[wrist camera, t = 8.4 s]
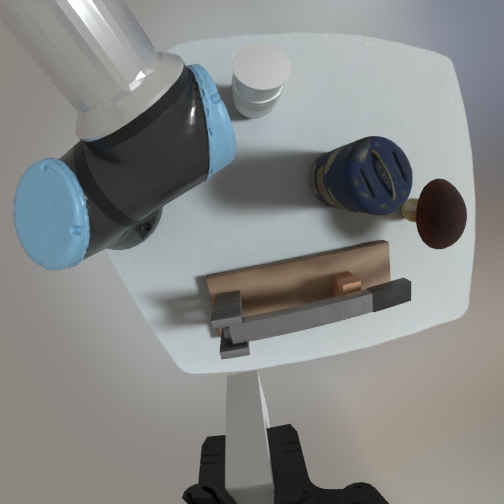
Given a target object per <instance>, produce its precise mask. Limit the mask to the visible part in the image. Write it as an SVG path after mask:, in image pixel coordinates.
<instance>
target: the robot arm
mask: <svg viewBox="0 0 504 504" xmlns="http://www.w3.org/2000/svg"><path fill="white" fill-rule="evenodd" d="M0 22H1V24H2V25H3V26H4V28H5V29H6V30H7V31H8V32H9V33H10V35H11V36H12V37H13V38H14V39H15V41H16V42H17V43H18V44H19V45H20V47H21V48H22V49H23V50H24V51H25V53H27V55H28V56H29V57H30V58H31V59H32V61H33V62H34V63H35V64H36V65H37V66H38V68H39V69H40V70H41V71H42V72H43V73H44V74H45V76H46V77H47V78H48V79H49V80H50V81H51V82H52V83H53V85H55V87H56V88H57V89H58V90H59V91H60V92H61V93H62V95H63V96H64V97H65V98H66V99H67V100H68V101H69V102H70V103H71V104H72V106H73V107H74V108H75V109H76V110H77V112H78V118H77V127H76V134H77V136H78V137H79V139H81V141H79V142H78V143H77V144H76V145H75V146H74V147H72V148H71V149H70V150H69V151H68V152H67V153H66V154H65V155H64V156H63V157H61V158H60V159H55V158H46V159H44V160H41V161H38V162H36V163H34V164H32V166H30V167H29V168H28V169H27V170H26V171H25V173H24V174H23V175H22V177H21V179H20V181H19V183H18V186H17V189H16V192H15V197H14V214H13V216H14V225H15V229H16V233H17V236H18V239H19V241H20V243H21V245H22V247H23V249H24V251H25V252H26V254H27V255H28V256H29V257H30V258H31V259H32V260H33V261H34V262H35V263H36V264H38V265H41V266H42V267H44V268H45V269H48V270H62V269H65V268H71V267H74V266H76V265H78V264H79V263H80V262H81V261H82V260H84V259H85V258H87V257H89V256H91V255H93V254H95V253H97V252H99V251H102V250H104V249H106V248H109V249H113V250H124V249H129V248H132V247H134V246H136V245H138V244H140V243H142V242H143V241H145V240H146V239H147V238H148V237H149V236H150V235H151V234H152V233H153V232H154V230H155V229H156V227H157V225H158V223H159V220H160V217H161V214H162V207H163V206H164V205H165V204H167V203H169V202H170V201H172V200H174V199H175V198H177V197H178V196H180V195H182V194H183V193H185V192H187V191H188V190H190V189H192V188H194V187H195V186H197V185H199V184H200V183H202V182H205V181H207V180H209V179H210V178H211V176H212V175H214V174H215V173H217V172H218V171H220V170H221V169H223V168H224V167H226V166H227V165H229V164H230V163H231V162H232V160H233V159H234V157H235V154H236V138H235V134H234V130H233V126H232V123H231V120H230V117H229V114H228V112H227V109H226V107H225V104H224V102H223V101H222V100H221V99H220V95H219V92H218V90H217V87H216V85H215V83H214V81H213V80H212V78H211V77H210V75H209V74H208V72H207V71H206V70H205V69H204V68H203V67H202V66H201V65H198V64H195V65H188V66H185V64H184V62H183V60H182V59H181V57H180V56H178V55H176V54H170V53H164V52H158V51H156V49H155V47H154V46H153V44H152V42H151V41H150V39H149V38H148V36H147V34H146V33H145V31H144V30H143V28H142V26H141V25H140V23H139V22H138V20H137V18H136V17H135V15H134V14H133V12H132V10H131V9H130V7H129V6H128V4H127V3H126V1H125V0H0ZM226 400H227V401H226V435H221V436H211V437H207V438H206V440H205V442H204V443H203V445H202V450H201V460H200V464H201V465H200V472H199V483H198V484H195V485H193V486H191V487H189V488H188V489H187V490H186V491H185V492H184V494H183V497H182V498H183V499H184V500H185V501H186V502H187V504H389V503H388V502H387V501H386V500H385V499H384V498H383V496H381V494H380V493H379V492H378V491H377V490H376V489H375V488H374V487H373V486H372V485H370V484H368V483H364V482H360V483H353V484H351V485H348V486H347V487H345V488H344V489H322V488H319V487H317V486H315V485H314V484H312V482H311V481H310V479H309V477H308V473H307V469H306V465H305V461H304V457H303V453H302V449H301V445H300V442H299V437H298V433H297V431H296V430H295V429H294V428H293V427H292V425H291V424H287V425H282V426H277V427H272V428H270V426H269V420H268V413H267V407H266V403H265V399H264V395H263V391H262V387H261V383H260V379H259V375H258V371H257V370H255V371H250V372H244V373H239V374H233V375H228V376H227V399H226Z"/></svg>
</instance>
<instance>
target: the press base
mask: <svg viewBox="0 0 504 504" xmlns="http://www.w3.org/2000/svg"><path fill="white" fill-rule="evenodd" d="M206 281H207V285H208V289H209V293H210V297H211V301H212V305H213V313H212V318H211V324H212V327H213V329H218V328H219V332H220V336H221V344H220V355H221V359H228V358H234V357H240V356H246V355H250V352H249V342H243V343H239V344H238V345H236V346H228V345H227V342H226V339H225V335H224V331H223V328H224V327H230V326H235V325H241V324H243V321H242V317H246V316H251V315H256V314H261V313H266V312H271V311H276V310H280V309H285V308H290V307H294V306H299V305H303V304H308V303H312V302H316V301H321V300H325V299H329V298H333V297H337V296H341V295H345V294H349V293H353V292H357V291H361V290H364V289H367V288H369V287H372V286H376V285H380V284H383V283H387V282H390V259H389V242H387V241H384V240H381V241H377V242H372V243H367V244H362V245H358V246H353V247H348V248H343V249H338V250H334V251H329V252H324V253H319V254H314V255H309V256H304V257H299V258H294V259H289V260H284V261H279V262H274V263H269V264H264V265H259V266H254V267H249V268H243V269H238V270H233V271H228V272H222V273H217V274H212V275H207V277H206Z"/></svg>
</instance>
